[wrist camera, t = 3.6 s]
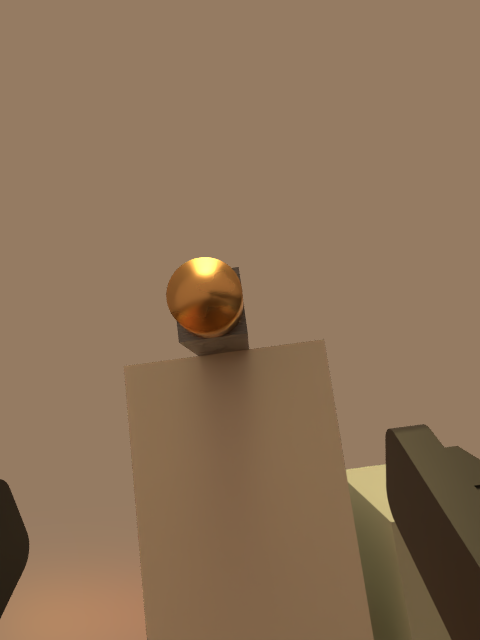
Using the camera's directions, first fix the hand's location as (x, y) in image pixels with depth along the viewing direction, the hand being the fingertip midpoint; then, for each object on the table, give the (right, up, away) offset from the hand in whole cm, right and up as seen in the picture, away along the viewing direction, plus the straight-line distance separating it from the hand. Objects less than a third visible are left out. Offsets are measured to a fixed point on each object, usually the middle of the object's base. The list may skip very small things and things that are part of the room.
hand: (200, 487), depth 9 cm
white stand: (+4, -31, +19) cm, 37 cm away
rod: (0, +1, +20) cm, 20 cm away
